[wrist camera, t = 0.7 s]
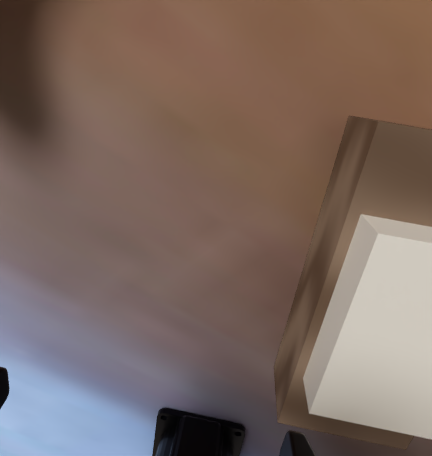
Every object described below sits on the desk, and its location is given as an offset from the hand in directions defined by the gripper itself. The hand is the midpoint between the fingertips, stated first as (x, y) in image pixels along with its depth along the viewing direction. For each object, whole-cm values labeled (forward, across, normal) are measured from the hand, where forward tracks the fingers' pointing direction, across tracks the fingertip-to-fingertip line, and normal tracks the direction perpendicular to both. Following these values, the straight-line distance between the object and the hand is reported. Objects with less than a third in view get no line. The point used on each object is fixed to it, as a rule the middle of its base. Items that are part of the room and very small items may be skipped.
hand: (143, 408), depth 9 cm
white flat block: (+6, -9, 0) cm, 11 cm away
